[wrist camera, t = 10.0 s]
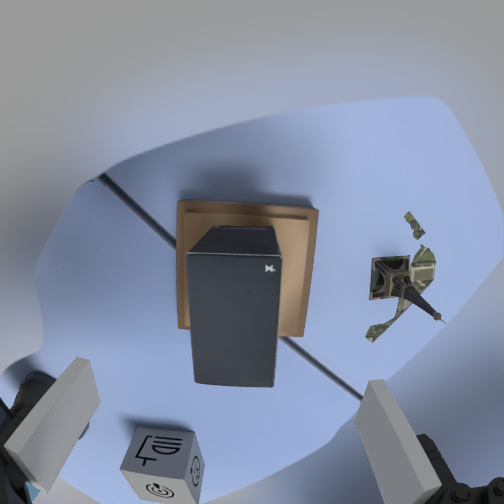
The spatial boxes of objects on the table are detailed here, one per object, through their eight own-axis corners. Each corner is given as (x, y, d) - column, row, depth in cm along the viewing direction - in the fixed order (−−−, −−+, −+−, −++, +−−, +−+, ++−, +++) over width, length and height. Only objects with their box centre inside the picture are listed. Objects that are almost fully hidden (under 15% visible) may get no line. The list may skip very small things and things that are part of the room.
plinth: (183, 317, 35) (176, 332, 31) (184, 199, 32) (174, 202, 28) (299, 324, 35) (304, 341, 31) (313, 207, 32) (320, 211, 28)
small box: (207, 224, 28) (180, 249, 18) (275, 225, 28) (287, 251, 18) (209, 324, 31) (190, 386, 20) (271, 326, 31) (277, 389, 20)
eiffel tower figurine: (370, 342, 36) (409, 406, 23) (321, 298, 35) (353, 359, 22) (445, 262, 33) (509, 297, 20) (405, 208, 32) (474, 226, 19)
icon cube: (137, 426, 40) (119, 469, 30) (194, 432, 40) (184, 479, 30) (153, 459, 42) (140, 499, 33) (204, 464, 42) (197, 507, 33)
